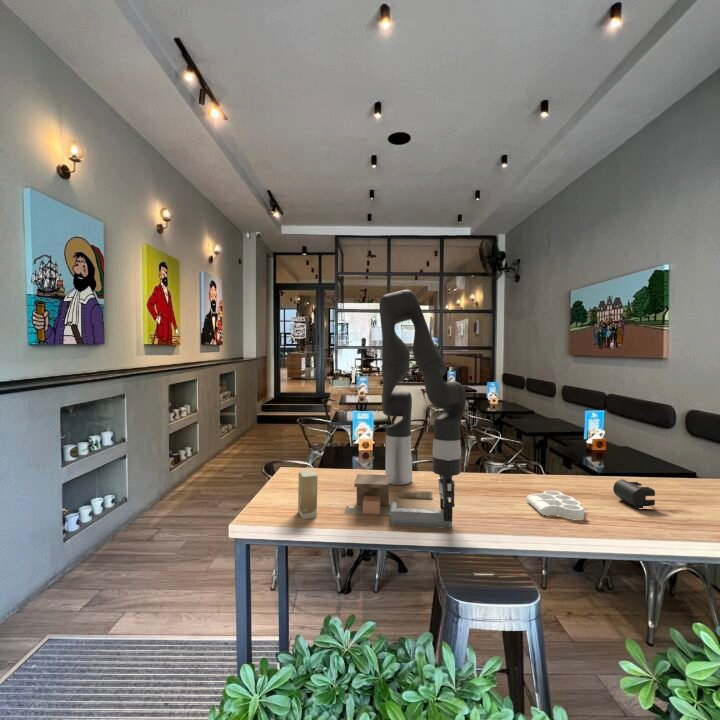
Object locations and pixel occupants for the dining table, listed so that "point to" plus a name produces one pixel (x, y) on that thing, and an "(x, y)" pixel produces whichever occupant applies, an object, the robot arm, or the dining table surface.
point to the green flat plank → (360, 511)
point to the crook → (418, 517)
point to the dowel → (416, 494)
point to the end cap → (633, 493)
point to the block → (371, 504)
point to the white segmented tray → (556, 504)
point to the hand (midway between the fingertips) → (446, 515)
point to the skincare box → (307, 494)
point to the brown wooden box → (372, 487)
